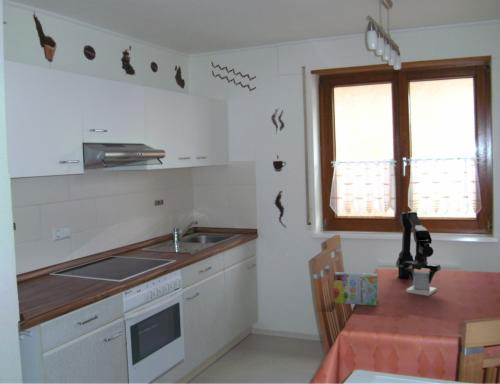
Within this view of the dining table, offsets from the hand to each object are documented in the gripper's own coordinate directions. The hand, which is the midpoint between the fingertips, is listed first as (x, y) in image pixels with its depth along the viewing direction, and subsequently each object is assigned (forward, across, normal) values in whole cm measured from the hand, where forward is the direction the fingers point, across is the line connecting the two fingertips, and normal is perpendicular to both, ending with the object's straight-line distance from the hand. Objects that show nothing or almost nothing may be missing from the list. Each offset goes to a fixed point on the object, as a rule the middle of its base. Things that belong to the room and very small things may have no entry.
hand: (421, 282), depth 275 cm
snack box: (+6, -19, -38) cm, 43 cm away
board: (+5, 0, 0) cm, 5 cm away
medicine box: (+4, 0, 0) cm, 4 cm away
